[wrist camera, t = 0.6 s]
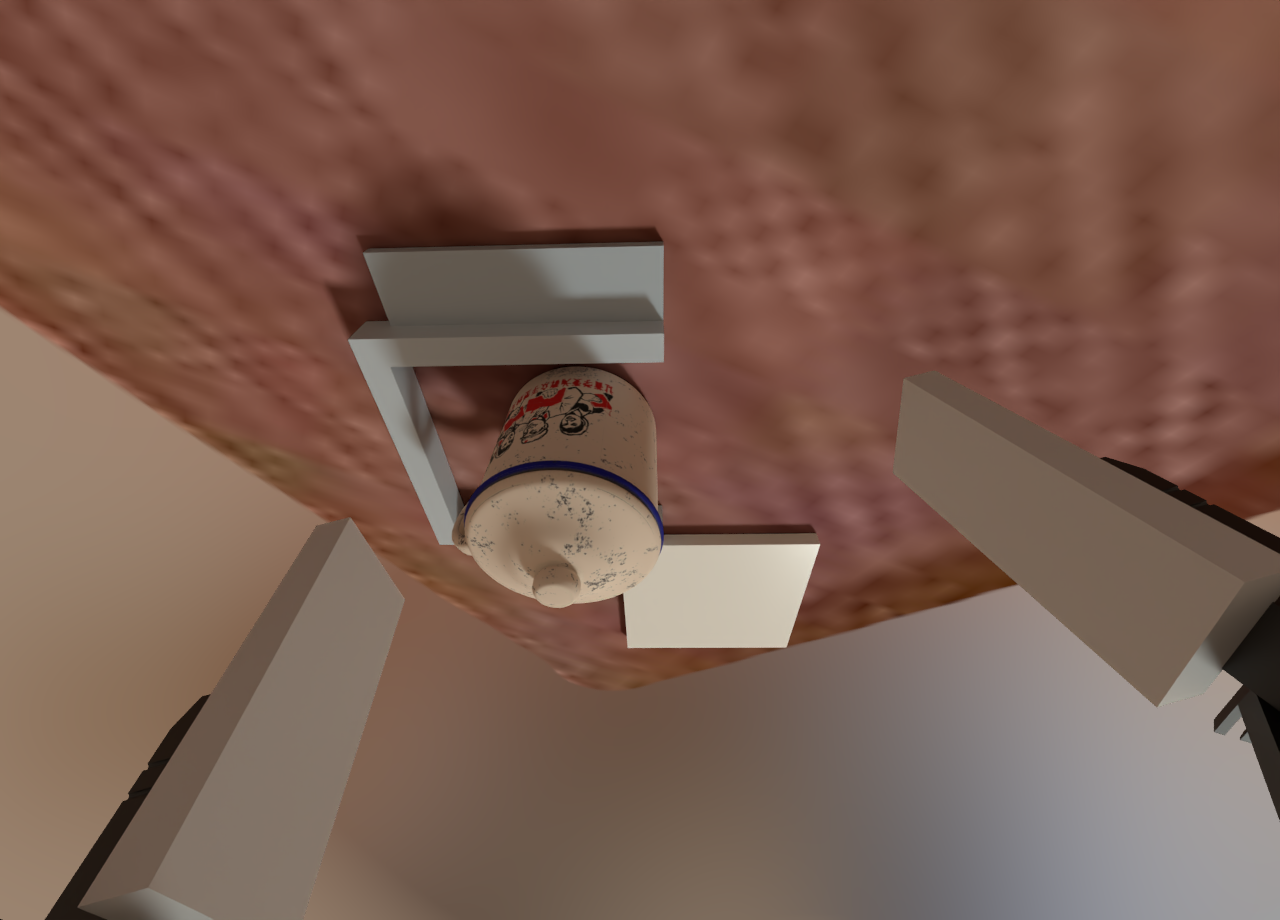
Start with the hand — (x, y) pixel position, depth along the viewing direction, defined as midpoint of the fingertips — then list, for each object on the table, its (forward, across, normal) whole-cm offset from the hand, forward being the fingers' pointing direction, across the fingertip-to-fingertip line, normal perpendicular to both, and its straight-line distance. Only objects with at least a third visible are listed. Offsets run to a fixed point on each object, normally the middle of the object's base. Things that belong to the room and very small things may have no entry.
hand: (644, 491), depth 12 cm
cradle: (+17, -5, -7) cm, 19 cm away
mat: (+17, +4, -24) cm, 30 cm away
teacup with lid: (+17, -3, -7) cm, 18 cm away
